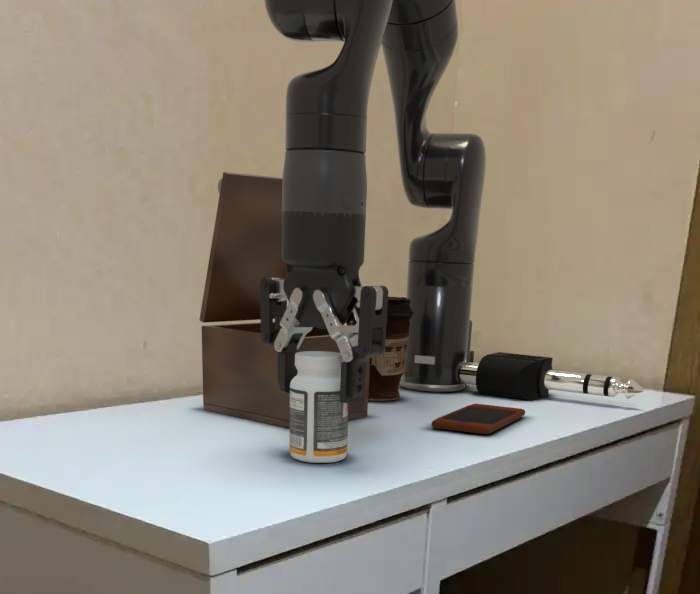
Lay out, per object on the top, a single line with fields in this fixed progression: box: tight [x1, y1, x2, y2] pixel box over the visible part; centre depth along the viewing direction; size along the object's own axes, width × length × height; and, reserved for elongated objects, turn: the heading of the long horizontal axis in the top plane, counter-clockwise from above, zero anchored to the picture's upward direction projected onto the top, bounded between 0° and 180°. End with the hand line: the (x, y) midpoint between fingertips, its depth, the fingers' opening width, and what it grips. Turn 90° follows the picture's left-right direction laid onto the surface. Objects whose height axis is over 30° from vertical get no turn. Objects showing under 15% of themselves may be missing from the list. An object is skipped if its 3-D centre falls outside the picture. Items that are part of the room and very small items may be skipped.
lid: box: [198, 171, 287, 324], centre depth 111 cm, size 16×13×5 cm
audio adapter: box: [459, 351, 644, 401], centre depth 131 cm, size 11×5×25 cm
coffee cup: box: [355, 296, 414, 401], centre depth 124 cm, size 9×8×13 cm
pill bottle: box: [288, 351, 349, 464], centre depth 90 cm, size 6×6×10 cm
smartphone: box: [430, 403, 526, 435], centre depth 112 cm, size 7×1×15 cm
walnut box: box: [201, 321, 370, 429], centre depth 112 cm, size 16×13×10 cm
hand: (319, 396), depth 90 cm, fingers open, 7 cm apart
